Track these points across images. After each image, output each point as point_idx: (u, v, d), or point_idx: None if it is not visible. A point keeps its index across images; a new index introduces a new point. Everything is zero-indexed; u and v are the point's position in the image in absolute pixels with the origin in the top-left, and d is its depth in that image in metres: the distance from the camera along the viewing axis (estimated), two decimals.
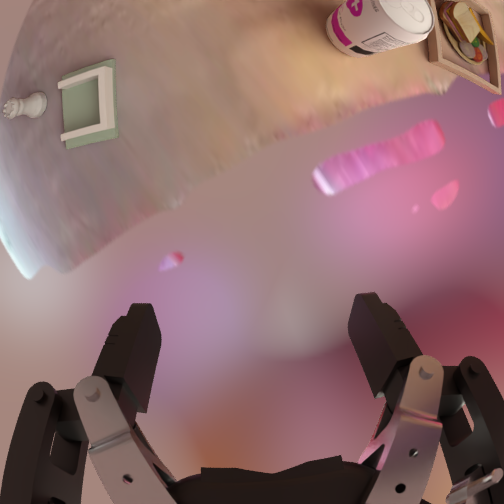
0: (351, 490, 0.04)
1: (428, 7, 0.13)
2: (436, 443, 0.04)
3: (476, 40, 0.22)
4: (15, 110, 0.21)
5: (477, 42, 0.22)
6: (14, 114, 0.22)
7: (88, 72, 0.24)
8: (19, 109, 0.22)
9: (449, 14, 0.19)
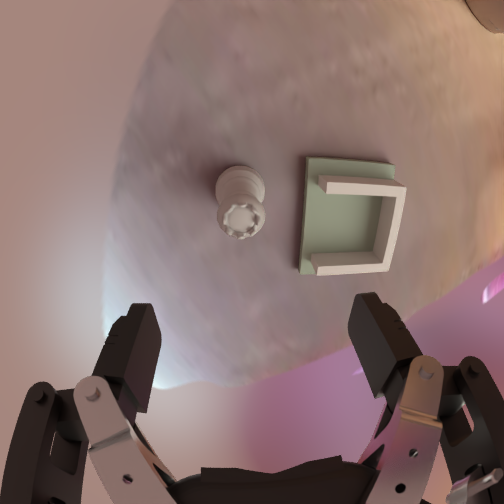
0: (351, 490, 0.04)
1: None
2: (435, 443, 0.04)
3: None
4: (259, 227, 0.18)
5: None
6: None
7: (384, 187, 0.21)
8: None
9: None
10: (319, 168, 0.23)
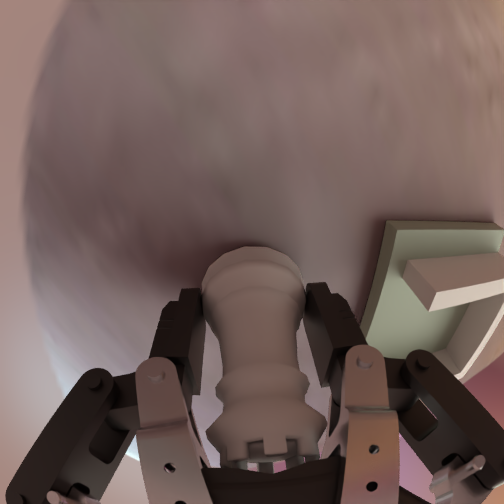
0: None
1: None
2: (396, 433, 0.04)
3: None
4: None
5: None
6: None
7: (502, 282, 0.09)
8: None
9: None
10: (411, 248, 0.10)
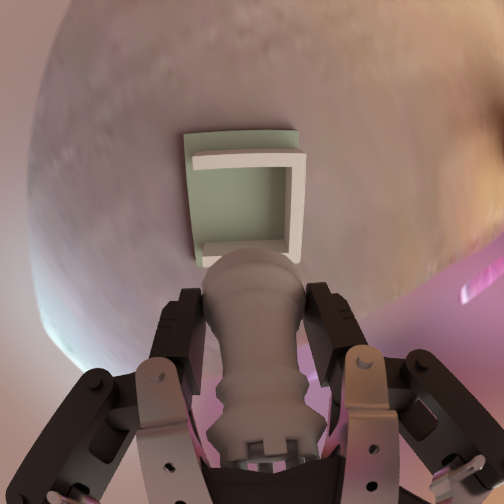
0: None
1: None
2: (395, 433, 0.04)
3: None
4: None
5: None
6: None
7: (270, 156, 0.18)
8: None
9: None
10: (196, 144, 0.20)
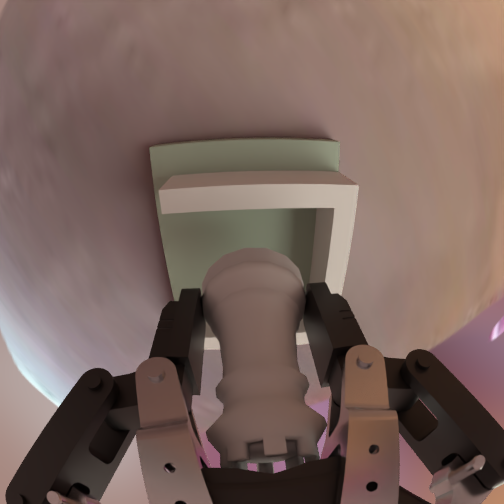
0: None
1: None
2: (395, 433, 0.04)
3: None
4: None
5: None
6: None
7: (298, 189, 0.10)
8: None
9: None
10: (171, 163, 0.12)
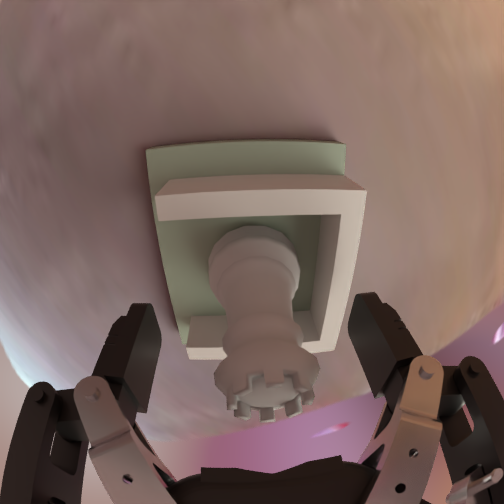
0: (351, 490, 0.04)
1: None
2: (435, 443, 0.04)
3: None
4: None
5: None
6: None
7: (304, 194, 0.10)
8: None
9: None
10: (168, 166, 0.11)
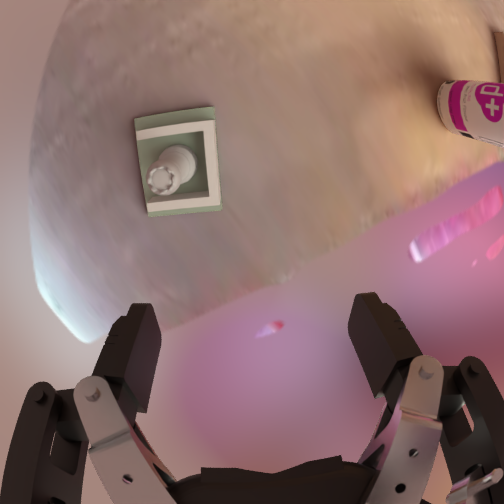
0: (351, 490, 0.04)
1: None
2: (435, 443, 0.04)
3: None
4: (176, 184, 0.22)
5: None
6: (173, 190, 0.22)
7: (187, 124, 0.24)
8: None
9: None
10: (143, 124, 0.26)
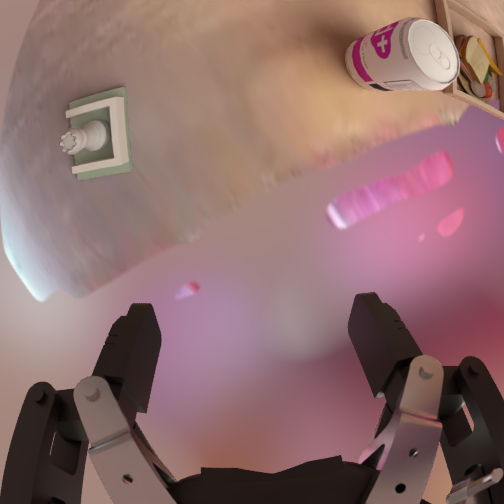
0: (351, 490, 0.04)
1: (455, 51, 0.14)
2: (435, 444, 0.04)
3: (485, 73, 0.24)
4: (79, 145, 0.24)
5: (486, 75, 0.25)
6: (77, 150, 0.24)
7: (98, 102, 0.26)
8: (82, 143, 0.25)
9: (461, 57, 0.23)
10: (74, 106, 0.27)
